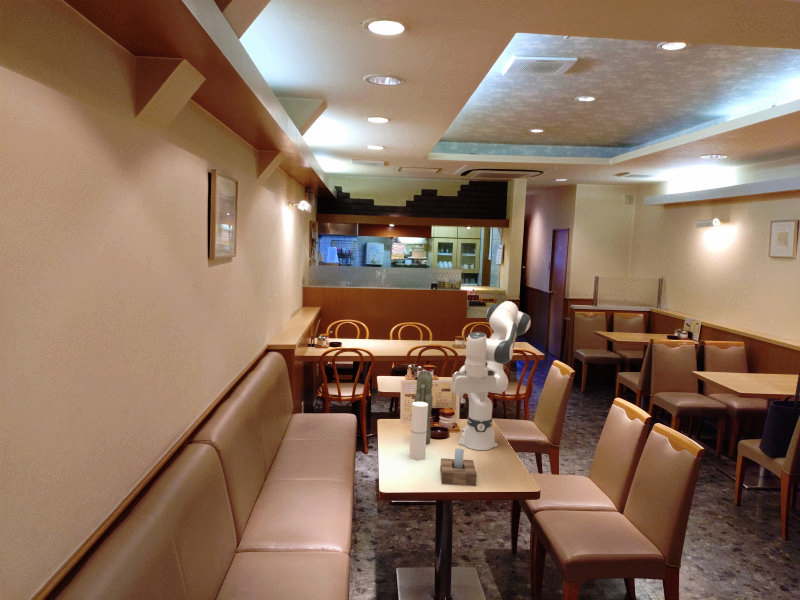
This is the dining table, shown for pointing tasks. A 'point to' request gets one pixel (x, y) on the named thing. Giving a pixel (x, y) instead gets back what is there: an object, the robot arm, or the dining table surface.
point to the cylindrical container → (418, 430)
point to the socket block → (458, 473)
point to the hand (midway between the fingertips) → (472, 402)
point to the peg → (458, 458)
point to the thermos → (425, 396)
